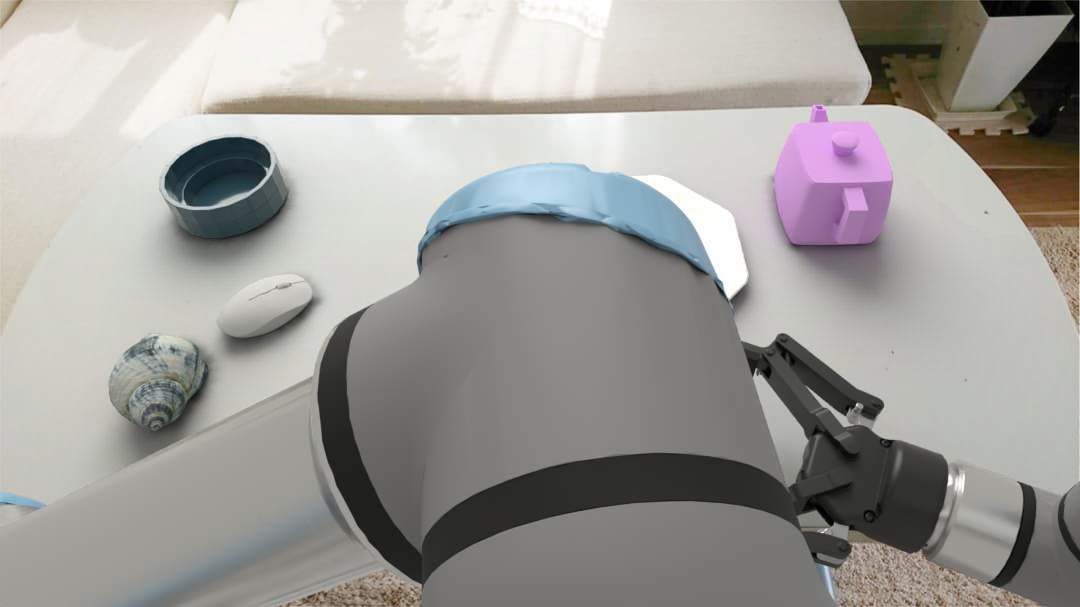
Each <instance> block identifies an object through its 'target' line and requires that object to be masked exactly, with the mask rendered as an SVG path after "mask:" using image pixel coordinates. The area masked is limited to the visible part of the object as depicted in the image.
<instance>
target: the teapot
mask: <svg viewBox="0 0 1080 607" xmlns="http://www.w3.org/2000/svg"><path fill="white" fill-rule="evenodd" d="M773 178H774V179H773V181H774V193H775V200H776V207H777V211H778V215H779V218H780V220H781V222H782V226H783V228H784V231H785V233H786V236H787V238H788V239H789V241H790V242H791V243H792V244H793V245H799V246H845V245H846V246H848V245H864V244H871V243H872V242H873V241H875V240H876V239H877V237H879V235H880V233H881V232H882V230H883V227H884V225H885V222H886V218H887V214H888V211H889V208H890V203H891V197H892V192H893V184H894V174H893V171H892V168H891V164H890V162H889V158H888V155H887V152H886V150H885V148H884V144H883V143H882V141H881V139H880V137H879V135H878V134H877V132H876V130H875V128H874V127H873V126H872V124H871V123H869V122H868V121H829V119H828V114H827V109H826V107H825V105H824V104H812V107H811V113H810V118H809V122H802V123H795V124H794V125H793V127H792V129H791V130H790V132H789V135H788V136H787V138H786V140H785V142H784V143H783V146H782V148H781V151H780V154H779V156H778V158H777V161H776V166H775V169H774V177H773Z"/></svg>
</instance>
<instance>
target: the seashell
mask: <svg viewBox="0 0 1080 607" xmlns="http://www.w3.org/2000/svg"><path fill="white" fill-rule="evenodd" d="M208 371H209V366H208V364H207V362H206V359H205V357H204V356H203V354H202V352H201V351H200V348H199V347H198V345H196V344H195V343H194V342H191V341H189V340H186V339H184V338H182V337H179V336H174V335H165V334H162V333H160V332H151V333H148V335H144V337H143V338H141V339H140V341H138V342H137V343H135V344H133V345H132V346H130V347H129V348H127V349H126V350H125V351H124V352H123V353H122V354H121V356H119V357H118V359H117V361H116V363H115V364H114V366H113V368H112V370H111V372H110V375H109V378H108V384H107V387H108V396H109V399H110V400H109V401H110V403H111V405H112V406H113V408H115V410H116V411H117V413H119V414H120V415H121V416H122V417H124V418H125V419H126V420H127V421H128V422H130V423H132V424H134V425H137V426H141V427H143V428H144V429H146V430H150V431H154V432H156V431H159V430H160V429H162V428H163V427H166V426H167V425H169V424H171V423H173V422H174V421H176V420H177V419H178V418H179V417H180V416H181V415H182V414H183V413H184V411H185V409H186V405H187V402H188V401H190V399H191V398H192V397H193V396H194V395H195V394H196V393H197V392H198V391H199V390H200V388H201V387H202V385H203V384H204V382H205V380H206V377H207V374H208Z"/></svg>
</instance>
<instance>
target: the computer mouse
mask: <svg viewBox="0 0 1080 607" xmlns="http://www.w3.org/2000/svg"><path fill="white" fill-rule="evenodd" d="M313 294H314V293H313V289H312V286H311V285H310V284H309V283H308V281H307V280H306V279H304V278H303V277H302V276H300V275H298V274H294V273H288V274H287V273H286V274H278V275H277V274H276V275H272V276H268V277H265V278H261V279H258V280H256V281H254V282H252V283H250V284H248V285H246V286H245V287H243V288H242V289H240V290H239V291H238V292H237V293H235V294H234V295H233V297H232V298H231V299H229V300H228V301H227V303H226V304H225V305H224V306H223V307H222V309H221V310H220V312H219V314H218V316H217V318H216V325H217V327H218V328H219V329H220V331H221V332H222V333H224V334H226V335H228V336H231V337H233V338H239V339H241V338H242V339H244V338H253V337H259V336H262V335H266V334H268V333H272V332H273V331H275V330H277V329H279V328H280V327H282V326H284V325H286V323H288V322H289V321H292V319H294V318H295V317H296V316H297V315H299V314H300V313H301V312H302V311H303V310H304V309H305V307H306V306H308V304H310V302H311V301H312V300H313V297H314V295H313Z"/></svg>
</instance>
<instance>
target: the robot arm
mask: <svg viewBox="0 0 1080 607" xmlns="http://www.w3.org/2000/svg"><path fill="white" fill-rule="evenodd" d="M630 176H631V175H627V174H624V173H622V172H620V171H610V172H599V171H594V170H591V169H590V168H589V167H588V166H587V165H585V164H583V163H574V162H573V163H572V162H545V163H544V162H542V163H541V162H539V163H532V164H531V163H530V164H524V165H518V166H513V167H508V168H505V169H502V170H501V169H500V170H498V171H495V172H492V173H489V174H486V175H484V176H481V177H479V178H477V179H474V180H473V181H471V182H469V183H467V184H465V185H463V186H462V187H460V188H459V189H458V190H456V191H455V192H454V193H451V195H450V196H448V197H447V199H445V200H444V201H443V202H442V203H441V204H440V205H439V206H438V207H437V209H436V210H435V211H434V213H433V214H432V216H431V217H430V219H429V221H428V223H427V226H426V228H425V233H424V234H423V236H422V237H421V239H420V241H419V242H418V245H417V256H416V266H417V271H418V277H417V278H416V279H415V280H413V282H411V283H410V284H408V285H406V286H404V287H403V288H400V289H399V290H396V291H395V292H393V293H391V294H389V295H387V296H385V297H383V298H381V299H379V300H377V301H375V302H374V303H371V304H370V305H367V306H365V307H364V308H362V309H360V310H358V311H356V312H354V313H352V314H350V315H349V316H347V317H345V318H343V319H342V320H341V321H340V322H338V323H337V324H336V325H335V326H333V328H332V329H331V331H330V332H329V333H328V335H327V336H325V338H324V341H323V343H322V345H321V347H320V348H319V352H318V355H317V356H316V357H317V358H316V361H315V362H314V363H315V364H314V370H313V375H312V376H309V377H307V378H305V379H302V380H301V381H299V382H297V383H295V384H293V385H290V386H289V387H286V388H285V389H283V390H281V391H279V392H277V393H274V394H273V395H270V396H268V397H266V398H265V399H262V400H260V401H258V402H256V403H254V404H252V405H249V406H247V407H246V408H243V409H242V410H240V411H238V412H236V413H234V414H232V415H229V416H227V417H225V418H223V419H222V420H220V421H217V422H215V423H213V424H211V425H209V426H207V427H205V428H203V429H201V430H198V431H197V432H194V433H193V434H190V435H188V436H186V437H184V438H182V439H180V440H177V441H176V442H174V443H172V444H170V445H168V446H166V447H164V448H161V449H159V450H157V451H155V452H154V453H151V454H149V455H147V456H145V457H143V458H141V459H139V460H137V461H135V462H132V463H131V464H129V465H127V466H124V467H123V468H120V469H119V470H116V471H115V472H113V473H110V474H108V475H106V476H104V477H102V478H100V479H97V480H96V481H94V482H91V483H90V484H87V485H86V486H83V487H82V488H79V489H77V490H75V491H74V492H72V493H69V494H67V495H65V496H63V497H61V498H59V499H57V500H55V501H53V502H51V503H49V504H45V503H44V502H41V501H38V500H36V499H34V498H30V497H27V496H23V495H18V494H15V493H9V492H4V491H0V607H281V606H284V605H286V604H289V603H293V602H296V601H298V600H301V599H304V598H306V597H309V596H312V595H315V594H318V593H321V592H324V591H327V590H329V589H332V588H335V587H337V586H342V585H344V584H347V583H350V582H352V581H355V580H358V579H361V578H364V577H367V576H369V575H373V574H375V573H378V572H380V571H381V572H382V571H384V570H387V571H388V572H390V573H391V574H392V575H394V576H395V577H397V578H399V579H400V580H402V581H403V582H406V583H408V584H410V585H412V586H414V587H417V588H420V589H421V592H420V594H421V595H420V599H421V600H420V607H840V606H839V605H838V603H837V602H836V601H835V599H834V598H833V597H832V595H831V594H830V592H829V590H828V589H827V588H826V586H825V585H824V581H823V580H822V578H821V574H820V572H819V570H818V568H817V565H816V564H819V565H822V566H826V567H829V568H831V569H839V568H841V566H842V565H843V564H844V563H845V561H846V560H847V559H848V557H849V556H850V555H851V553H852V550H853V549H852V544H851V543H850V542H849V532H850V531H851V532H858V533H859V534H862V535H864V536H865V537H866V538H868V539H870V540H873V541H876V542H878V543H881V544H883V545H885V546H889V547H891V548H894V549H896V550H899V551H901V552H903V553H906V554H909V555H912V554H914V553H915V554H916V553H918V552H920V551H921V554H922V556H923V557H924V559H925V561H928V562H930V563H932V564H936V565H937V566H941V567H943V568H945V569H948V570H951V571H953V572H956V573H959V574H962V575H964V576H967V577H969V578H972V579H975V580H977V581H980V582H982V583H984V584H988V585H990V586H993V587H995V588H998V589H1002V590H1004V591H1007V592H1009V593H1011V594H1014V595H1017V596H1019V597H1021V598H1023V599H1026V600H1029V601H1031V602H1033V603H1036V604H1038V605H1041V606H1044V607H1080V480H1079V481H1078V482H1077V483H1076V484H1074V485H1073V486H1072V487H1071V488H1070V489H1069V490H1067V491H1066V492H1065V493H1064V494H1062V495H1061V494H1058V493H1055V492H1051V491H1049V490H1046V489H1042V488H1039V487H1035V486H1032V485H1031V484H1027V483H1024V482H1021V481H1019V480H1016V479H1014V478H1011V477H1008V476H1006V475H1002V474H1000V473H997V472H994V471H992V470H990V469H989V470H988V469H986V468H983V467H980V466H977V465H975V464H972V463H969V462H966V461H964V460H961V459H956V460H953V461H952V462H950V463H948V461H947V459H946V458H945V456H944V455H943V454H942V453H939V452H936V451H933V450H930V449H927V448H925V447H922V446H919V445H916V444H913V443H911V442H906V441H904V440H900V439H888V438H884V437H882V436H879V435H878V434H877V433H875V431H873V428H874V425H875V423H876V421H877V420H878V418H879V417H880V415H881V413H882V412H883V409H884V408H885V402H884V401H883V400H882V399H881V398H880V397H877V396H875V395H873V394H870V393H868V392H866V391H864V390H861V389H859V388H857V387H855V385H853V384H852V383H850V382H849V381H848V380H847V379H845V378H844V377H842V375H840V374H839V373H838V372H836V371H835V370H833V369H832V367H830V366H829V365H828V364H826V363H825V362H824V361H822V360H821V359H820V358H819V357H817V356H816V355H814V354H813V353H812V351H809V350H808V349H807V348H806V347H805V346H803V345H802V344H801V343H799V342H798V341H797V340H795V339H794V338H793V337H791V336H790V335H789V334H787V333H784V332H781V333H778V334H777V335H776V337H775V339H774V340H773V341H772V342H771V343H770V344H769V345H767V346H759V345H756V344H753V343H749V342H746V341H744V340H741V336H740V333H739V330H738V326H737V323H736V320H735V309H734V307H733V304H732V302H731V300H730V301H729V299H728V297H727V295H726V293H725V291H724V286H723V282H722V281H721V280H720V279H719V278H718V276H717V274H716V271H715V269H714V267H713V265H712V263H711V260H710V258H709V256H708V254H707V252H706V250H705V247H704V245H703V243H702V241H701V239H700V236H699V234H698V233H697V231H696V229H695V227H694V226H693V224H692V223H691V221H690V220H689V219H688V217H687V216H686V215H685V214H684V213H683V211H682V210H681V209H680V208H679V207H678V206H677V205H676V204H675V203H674V202H672V201H671V200H670V199H669V198H667V197H666V196H665V195H663V194H662V193H661V192H659V191H657V190H656V189H654V188H653V187H651V186H649V185H647V184H646V183H644V182H642V181H640V180H637V179H635V178H633V177H630ZM755 375H756V377H759V376H762V378H763V379H764V380H765V381H766V383H767V384H768V385H769V387H770V388H771V389H772V390H773V392H774V393H775V394H776V396H777V397H778V398H779V400H780V401H781V402H782V403H783V405H784V406H785V407H786V408H787V410H788V411H789V412H790V413H791V415H792V417H793V418H794V419H795V420H796V422H797V423H798V424H799V425H800V427H801V428H802V429H803V433H804V437H805V438H806V440H808V441H807V443H806V446H805V447H804V450H803V454H802V464H801V466H800V468H799V470H798V472H797V476H796V478H795V482H794V483H792V484H791V485H789V486H788V484H787V481H786V478H785V474H784V472H783V470H782V466H781V463H780V459H779V457H778V454H777V449H776V447H775V444H774V441H773V437H772V433H771V431H770V427H769V425H768V424H769V423H768V421H767V419H766V415H765V412H764V409H763V406H762V403H761V400H760V399H761V398H760V397H759V394H758V390H757V386H756V383H755V381H754V376H755ZM812 392H813V393H814V394H815V395H816V396H818V397H819V398H820V399H821V400H823V401H824V402H825V403H827V404H828V405H829V406H830V407H831V408H832V409H834V410H835V411H836V412H838V413H839V414H840V415H842V416H844V417H846V419H847V422H848V424H850V425H848V426H843V424H842V423H841V422H840V421H839V419H838V418H837V417H836V416H835V415H834V413H833V412H832V411H831V410H830V408H828V407H824V406H823V405H822V404H821V402H819V400H818V399H817V398H816V397H815V396H814V394H813V393H812ZM812 512H817V513H818V514H819V516H820V517H821V518H822V519H823V520H824V522H826V524H827V525H828V526H829V527H822V528H819V529H818V531H813V530H812V531H811V530H802V527H801V525H800V521H799V518H798V517H799V516H802V515H805V514H808V513H812Z"/></svg>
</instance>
